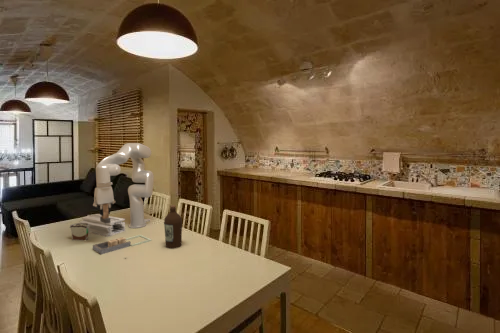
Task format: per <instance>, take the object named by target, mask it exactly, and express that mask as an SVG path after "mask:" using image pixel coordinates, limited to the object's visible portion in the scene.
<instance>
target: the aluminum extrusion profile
mask: <svg viewBox="0 0 500 333" xmlns="http://www.w3.org/2000/svg"><path fill="white" fill-rule="evenodd" d="M100 217H102V215H100V213H95V214H92V213H91V214H87V216H86V215H85V216H83V217H81V219H82V220H81V221H79V223H88V224H89V228H88V234H92V235H97V236H98V235H99V236H102V237H107V238H108V237H112V236H114V235H118V234H120V233H124V232H126V222H125V220H126V218H122V217H121V218H120V217H116V216H111V215H109V218H110V221H111V223H106V224H105V223H103V222H101V221H100Z"/></svg>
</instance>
